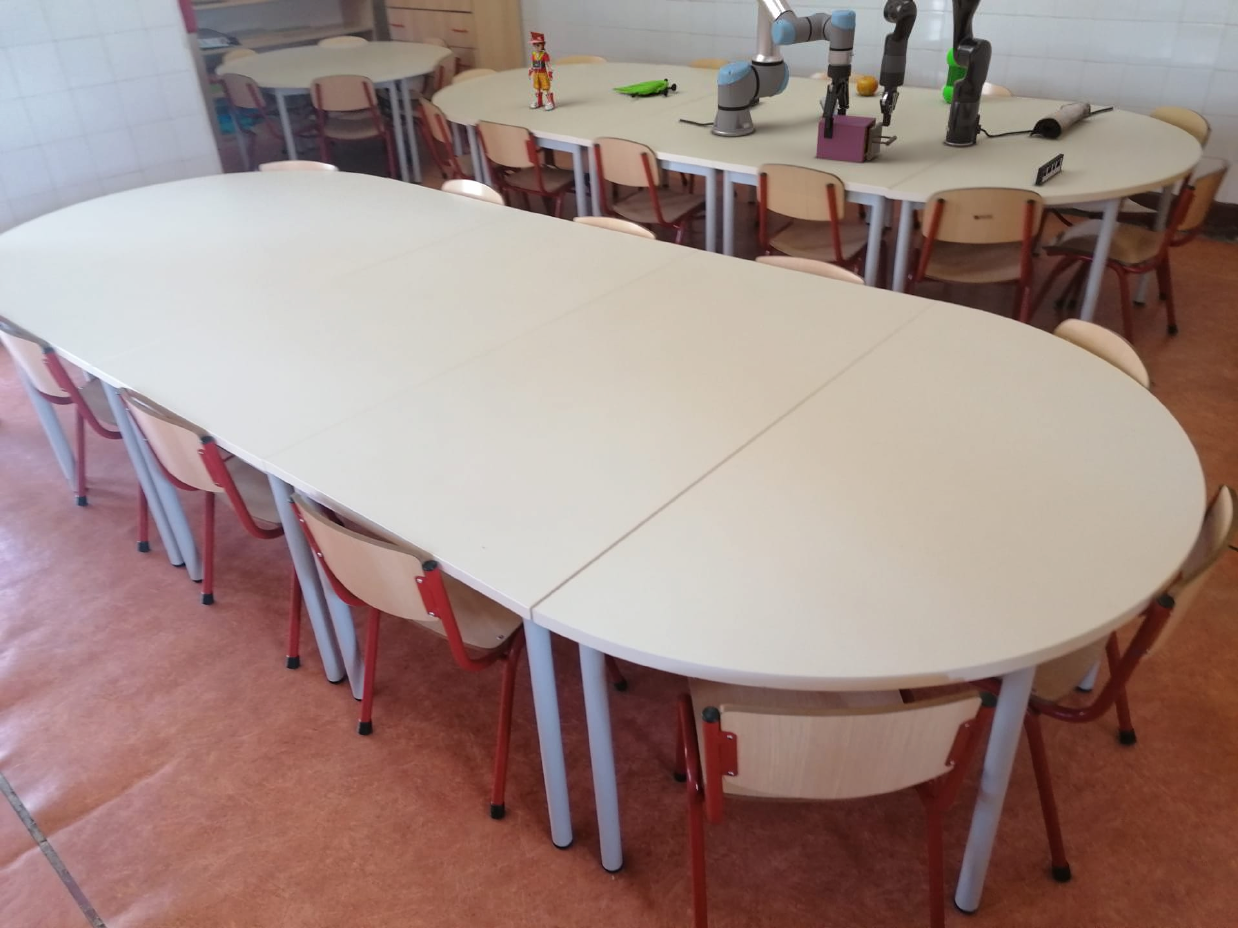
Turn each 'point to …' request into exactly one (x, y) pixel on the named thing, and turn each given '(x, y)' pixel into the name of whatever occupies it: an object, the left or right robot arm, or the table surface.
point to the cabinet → (844, 138)
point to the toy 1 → (541, 71)
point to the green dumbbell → (952, 76)
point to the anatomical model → (822, 103)
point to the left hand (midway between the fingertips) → (834, 133)
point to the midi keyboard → (1049, 169)
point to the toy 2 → (648, 88)
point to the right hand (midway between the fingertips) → (886, 126)
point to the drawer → (875, 140)
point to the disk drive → (753, 102)
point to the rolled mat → (1061, 120)
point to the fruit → (867, 85)
